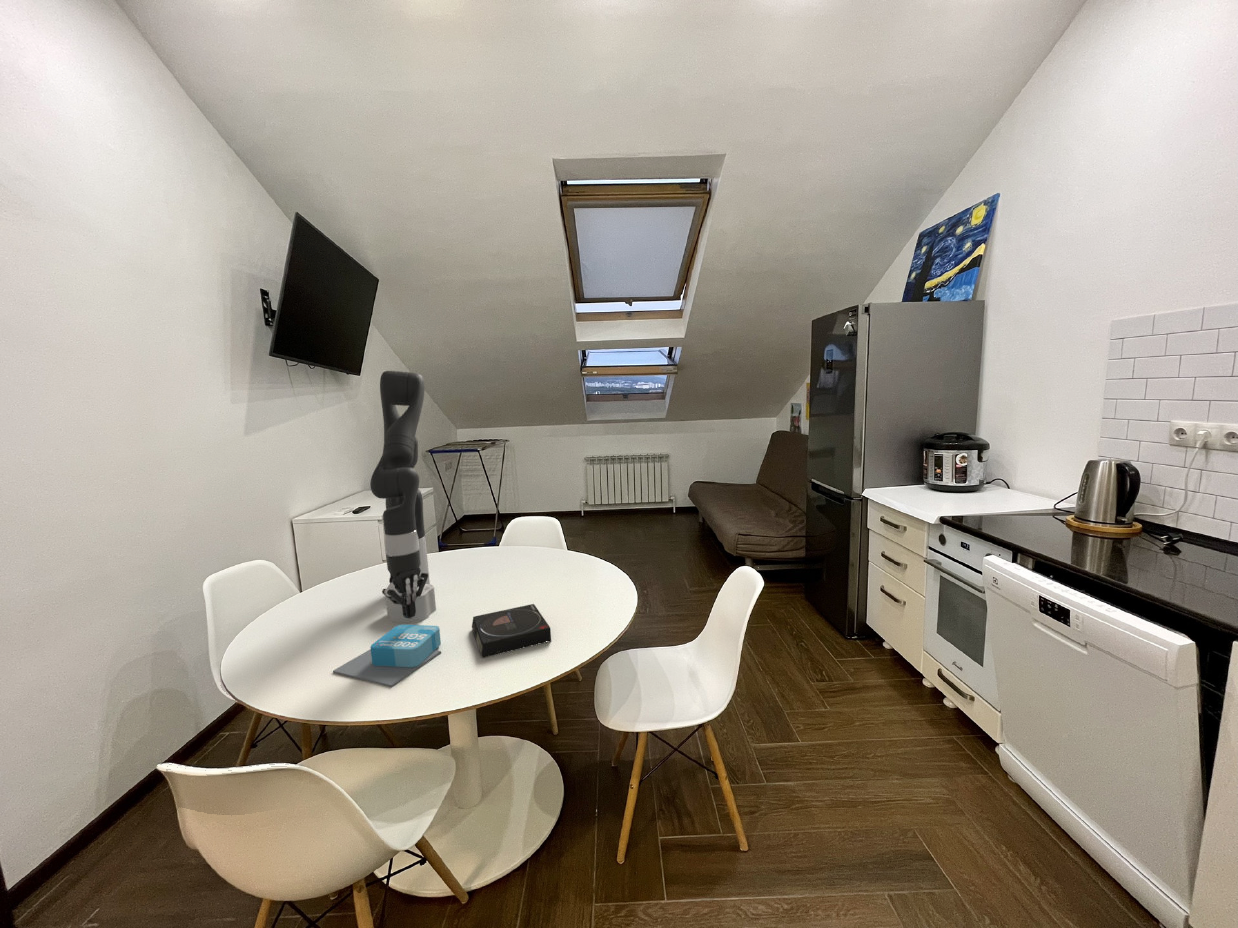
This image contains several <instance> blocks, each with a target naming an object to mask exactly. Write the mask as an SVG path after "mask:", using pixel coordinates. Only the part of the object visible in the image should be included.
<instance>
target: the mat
mask: <svg viewBox="0 0 1238 928" xmlns="http://www.w3.org/2000/svg"><path fill="white" fill-rule="evenodd" d="M441 654H442V651H441V650H437V649H436V650H435V651H433V652H432V653H431V654H430V655H429V656H428V657H427V658H426V659H425V660H424V661H423V662H422V663H421V664H420V665H419V666H416V667H412V668H408V667H389V666H374V665H373V664H372V656H371V648H369V649H368V650H366V651H365V652H362V653H361V654H360V655H358V656H356V657H354V658H352V659H351V660H349V661H348V662H346V663H343V664H342V665H340V666H339V667H337V668H335V669H334V670H333V671H332V673H333V674H337V675H340V676H344V677H345V676H346V677H349V678H353V679H355V680H361V681H365V682H369V683H373V684H377V685H381V686H385V687H389V688H393V687H395V686H396V685H397V684H399V683H400V682H401V681H403V680H405V679H406V678H407V677H409V676H410V675H412V674H413V673H415V672H416V671H417V670H420V668H422V667H423V666H425V665H427V664H428V663H429V662H430V661H432V660H434V658H436V657H438V656H439V655H441Z"/></svg>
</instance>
